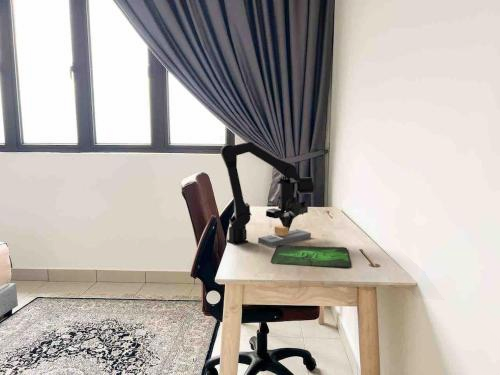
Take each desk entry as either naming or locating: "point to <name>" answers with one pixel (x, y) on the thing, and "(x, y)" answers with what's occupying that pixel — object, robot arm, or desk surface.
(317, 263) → the mouse mat
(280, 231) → the fader
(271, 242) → the grey flat panel
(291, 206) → the robot arm
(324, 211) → the desk surface
